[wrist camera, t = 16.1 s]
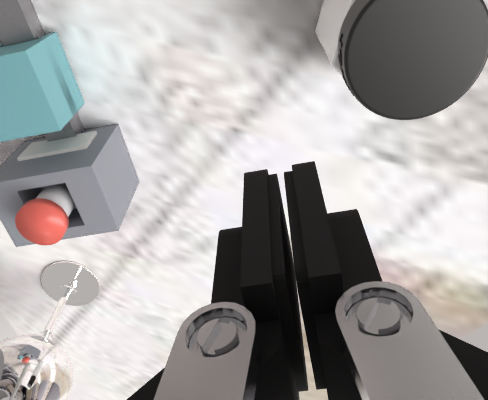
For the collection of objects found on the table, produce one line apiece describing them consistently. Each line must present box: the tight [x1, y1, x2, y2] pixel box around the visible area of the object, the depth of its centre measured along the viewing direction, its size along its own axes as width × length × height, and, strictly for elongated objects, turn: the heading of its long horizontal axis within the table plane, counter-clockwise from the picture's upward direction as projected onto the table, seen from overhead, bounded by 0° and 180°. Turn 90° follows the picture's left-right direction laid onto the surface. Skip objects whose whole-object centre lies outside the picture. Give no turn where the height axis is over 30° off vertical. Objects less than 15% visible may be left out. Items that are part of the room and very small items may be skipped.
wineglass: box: [0, 261, 100, 400], centre depth 44 cm, size 8×8×18 cm
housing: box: [0, 124, 139, 247], centre depth 40 cm, size 6×9×8 cm
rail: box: [0, 0, 84, 142], centre depth 35 cm, size 21×5×3 cm, turn 11°
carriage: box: [0, 32, 84, 142], centre depth 36 cm, size 6×5×6 cm
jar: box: [315, 0, 488, 120], centre depth 31 cm, size 9×8×12 cm
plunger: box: [15, 183, 75, 245], centre depth 37 cm, size 4×4×5 cm
